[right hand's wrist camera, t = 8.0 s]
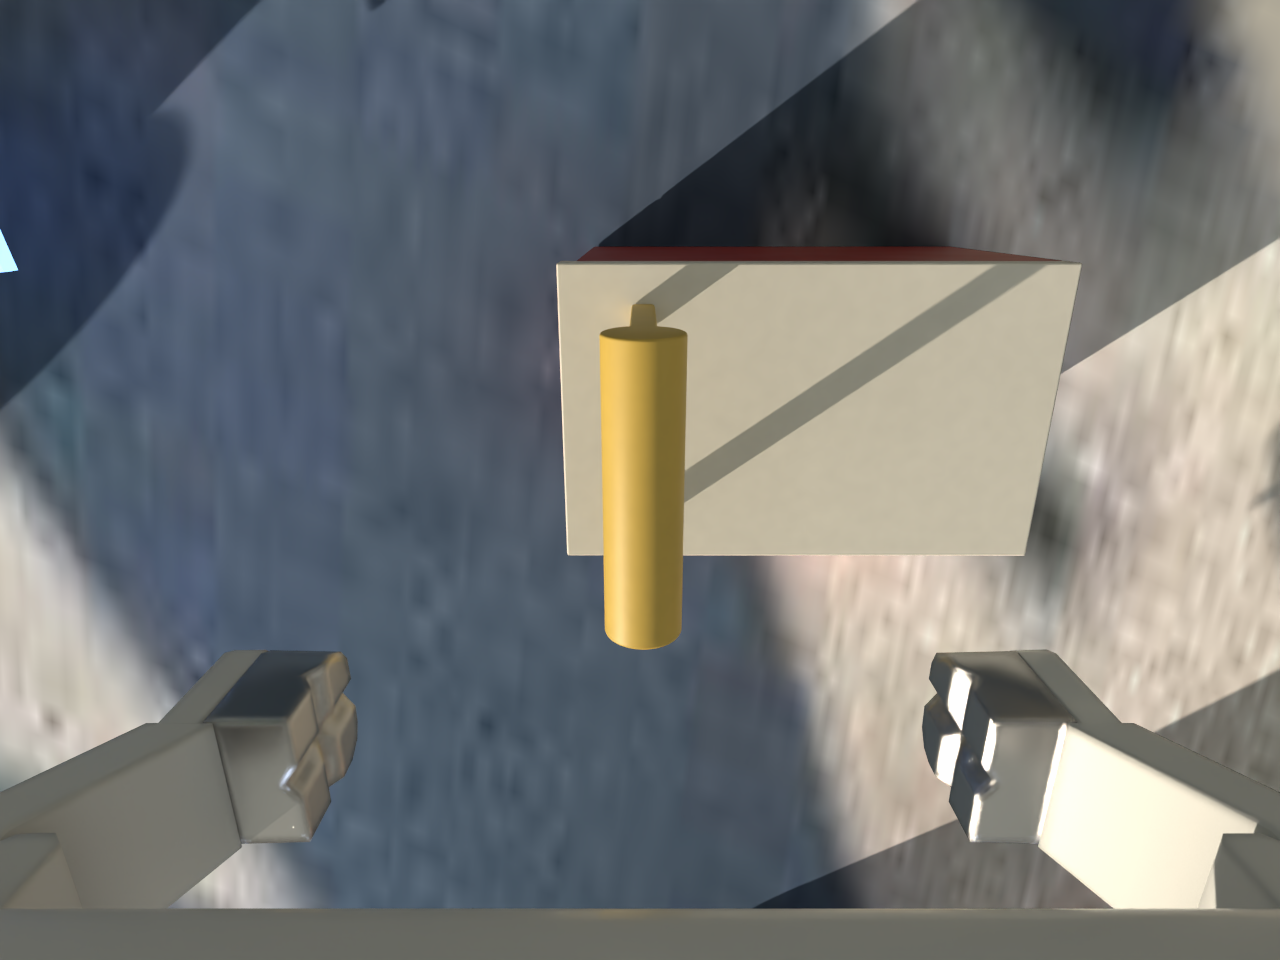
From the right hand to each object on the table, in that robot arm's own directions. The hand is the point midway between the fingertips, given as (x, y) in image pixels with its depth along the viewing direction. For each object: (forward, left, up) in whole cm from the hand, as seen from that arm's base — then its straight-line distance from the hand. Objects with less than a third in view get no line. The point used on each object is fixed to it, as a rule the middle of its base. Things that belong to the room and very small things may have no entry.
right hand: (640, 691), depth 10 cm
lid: (+3, +4, -15) cm, 16 cm away
